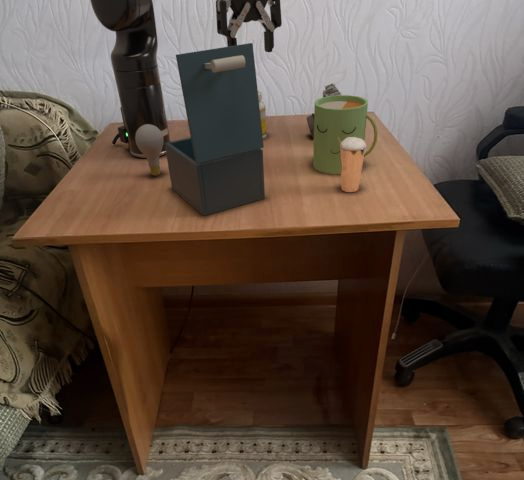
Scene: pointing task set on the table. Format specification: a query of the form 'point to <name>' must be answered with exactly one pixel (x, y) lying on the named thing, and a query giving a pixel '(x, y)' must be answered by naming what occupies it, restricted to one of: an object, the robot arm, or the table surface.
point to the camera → (329, 91)
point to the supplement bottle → (262, 115)
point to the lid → (221, 101)
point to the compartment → (215, 178)
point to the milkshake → (351, 162)
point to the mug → (338, 129)
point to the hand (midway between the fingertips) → (251, 54)
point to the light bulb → (150, 145)
